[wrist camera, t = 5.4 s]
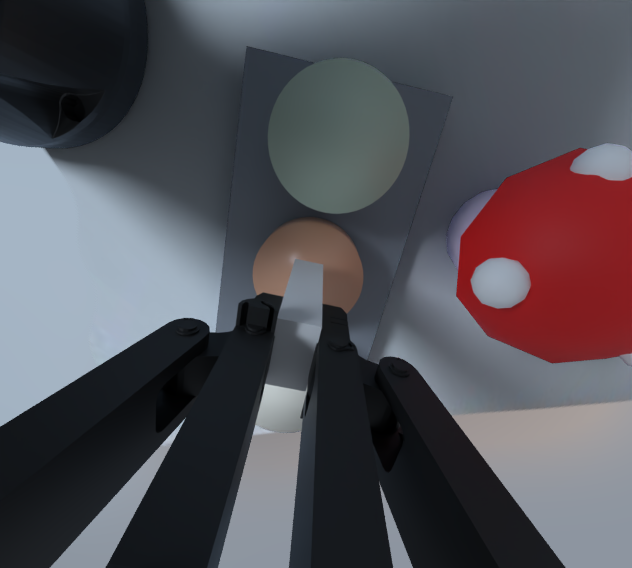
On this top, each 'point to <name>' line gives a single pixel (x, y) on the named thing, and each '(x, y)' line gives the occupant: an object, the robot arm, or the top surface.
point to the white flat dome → (281, 409)
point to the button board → (280, 207)
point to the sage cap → (338, 135)
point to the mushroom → (552, 257)
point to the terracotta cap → (311, 260)
